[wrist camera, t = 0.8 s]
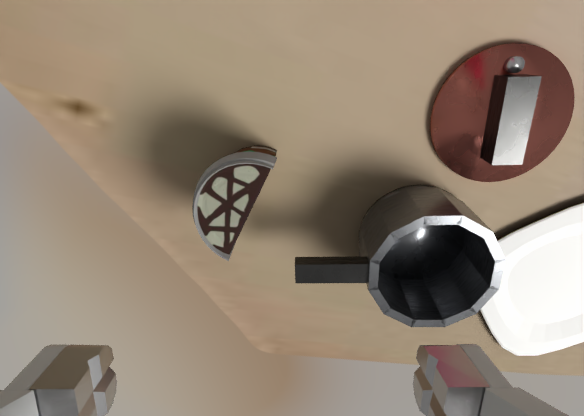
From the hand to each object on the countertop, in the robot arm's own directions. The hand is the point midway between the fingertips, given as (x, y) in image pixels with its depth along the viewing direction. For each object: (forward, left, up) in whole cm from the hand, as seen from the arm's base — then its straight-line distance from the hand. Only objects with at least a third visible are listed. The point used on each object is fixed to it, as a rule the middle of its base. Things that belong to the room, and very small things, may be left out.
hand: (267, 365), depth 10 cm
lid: (0, +22, -36) cm, 43 cm away
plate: (+22, +34, -36) cm, 55 cm away
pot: (+15, +10, -36) cm, 40 cm away
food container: (+6, -8, -36) cm, 37 cm away
